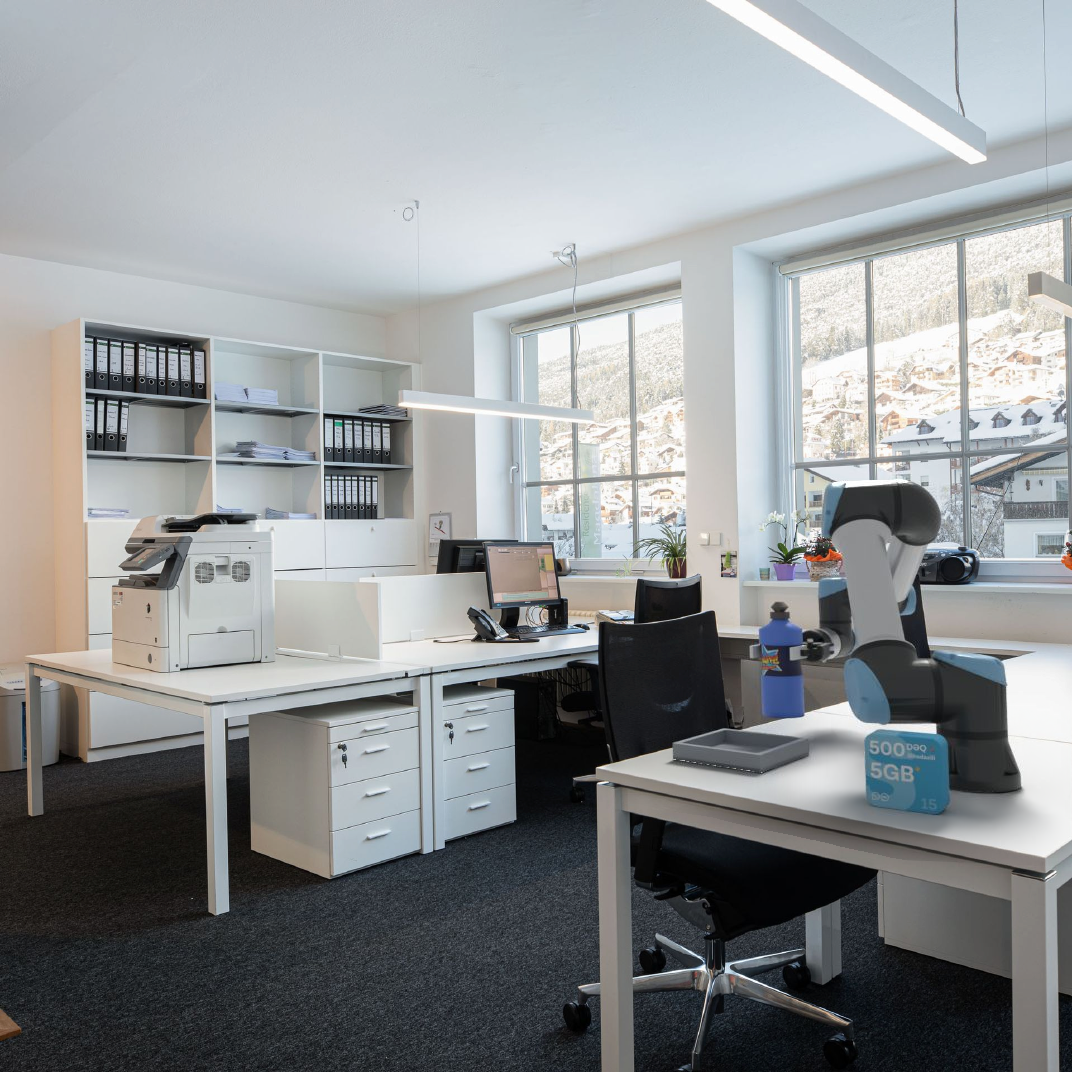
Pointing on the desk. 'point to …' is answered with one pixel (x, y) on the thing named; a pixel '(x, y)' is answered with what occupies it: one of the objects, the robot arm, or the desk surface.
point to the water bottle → (781, 666)
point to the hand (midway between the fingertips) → (771, 653)
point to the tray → (741, 749)
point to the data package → (907, 771)
